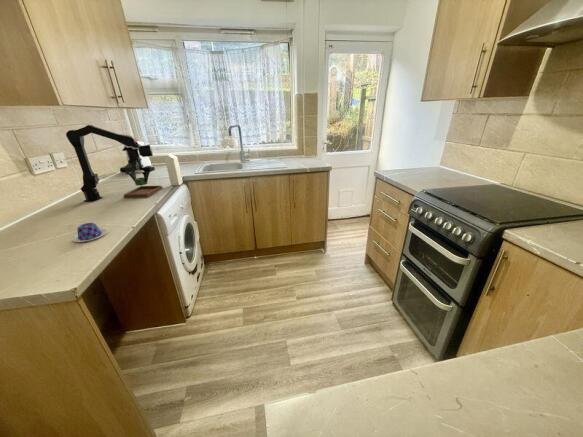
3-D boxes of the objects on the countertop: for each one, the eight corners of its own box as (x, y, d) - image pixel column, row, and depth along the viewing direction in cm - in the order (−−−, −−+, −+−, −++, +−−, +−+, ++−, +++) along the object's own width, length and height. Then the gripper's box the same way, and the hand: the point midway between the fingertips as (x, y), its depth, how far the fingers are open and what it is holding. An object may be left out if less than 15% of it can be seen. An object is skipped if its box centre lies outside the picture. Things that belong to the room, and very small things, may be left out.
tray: (124, 197, 149) (123, 194, 148) (141, 189, 166) (140, 186, 165) (147, 197, 149) (146, 194, 148) (162, 188, 166) (161, 185, 165)
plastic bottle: (155, 169, 224) (146, 137, 213) (142, 173, 211) (133, 139, 199) (141, 168, 227) (132, 137, 216) (128, 172, 214) (117, 139, 203)
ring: (133, 185, 152) (132, 180, 151) (139, 182, 158) (138, 177, 156) (143, 185, 152) (142, 179, 150) (149, 182, 158) (147, 177, 156)
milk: (171, 185, 172) (163, 153, 163) (174, 183, 177) (167, 152, 168) (179, 185, 172) (172, 153, 163) (183, 183, 177) (176, 152, 168)
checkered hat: (67, 246, 95) (62, 234, 93) (78, 233, 105) (73, 222, 103) (104, 239, 99) (99, 228, 97) (110, 228, 110) (106, 217, 107)
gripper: (110, 160, 141) (118, 186, 147) (141, 159, 141) (148, 185, 147) (122, 157, 151) (129, 181, 157) (152, 156, 151) (158, 180, 157)
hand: (141, 182), depth 154 cm, fingers closed on ring, 6 cm apart
